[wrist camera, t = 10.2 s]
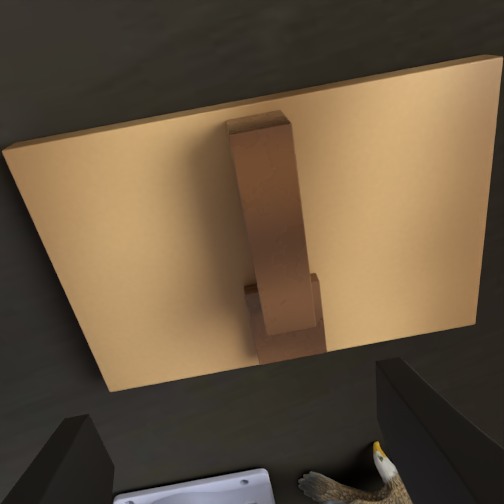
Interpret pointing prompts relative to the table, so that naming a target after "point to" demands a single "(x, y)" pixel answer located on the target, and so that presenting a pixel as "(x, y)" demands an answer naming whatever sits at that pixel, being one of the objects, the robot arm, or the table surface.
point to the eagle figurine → (355, 500)
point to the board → (233, 224)
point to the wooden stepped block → (276, 240)
